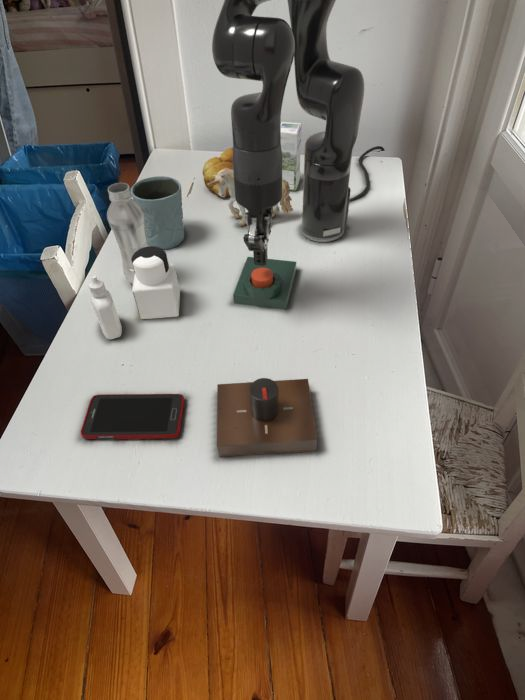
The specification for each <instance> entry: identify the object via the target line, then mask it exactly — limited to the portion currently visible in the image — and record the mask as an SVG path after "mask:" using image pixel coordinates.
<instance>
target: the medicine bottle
mask: <svg viewBox="0 0 525 700" xmlns="http://www.w3.org/2000/svg"><path fill="white" fill-rule="evenodd" d="M131 261H132V265H133V268H134V272H135V276H134V282H133V284H132V289H131V291H132V295H133V298H134V301H135V305H136V308H137V312H138V315H139V318H140V320H151V319H163V318H175V317H176V318H177V317H179V316H180V302H181V290H180V285H179V280H178V275H177V270H176V269H177V268H176V264H175V263H169V261H168V255H167V252H166V251H165V249H161V248H159V247H155V246H149V247H144V248H141V249H139V250H137V251H136V252H135V253H134V254H133V256H132V258H131Z"/></svg>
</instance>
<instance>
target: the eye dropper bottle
mask: <svg viewBox="0 0 525 700" xmlns="http://www.w3.org/2000/svg"><path fill="white" fill-rule="evenodd" d="M88 288H89V291H90V293H91V294H90V302H91V305H92V308H93V310H94V313H95V316H96V318H97V321H98V322H99V326H100V329H101V331H102V333H103V335H104V337H105V338H106V339H107V340H114V339H118V338H120V337H121V336H122V333H123V327H122V323H121V320H120V317H119V313H118V311H117V308H116V305H115V302H114V300H113V296H112V294H111V292H110V290H108V289H107V288H106V286H105V282H104V281H103V279H98V277H97V275H91V281H90V282H89V283H88Z"/></svg>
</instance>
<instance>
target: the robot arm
mask: <svg viewBox="0 0 525 700" xmlns="http://www.w3.org/2000/svg"><path fill="white" fill-rule="evenodd" d="M269 1H270V2H271V0H224V1H223V4H222V6H221V8H220V11H219V14H218V17H217V19H216V23H215V26H214V30H213V34H212V40H211V52H212V58H213V61H214V64H215V67H216V69H217V70H218V71H219V73H220V74H221V75H223V76H224V77H226V78H229V79H236V80H237V79H238V80H245V81H246V80H247V81H256V82H261V83H262V90H261V91H259V92H254V93H248V94H243V95H241V96H239V97H237V98H236V99H235V100H234V101H233V102H232V104H231V106H230V107H231V108H230V115H231V116H230V121H231V134H232V148H233V156H232V158H233V173H234V187H235V199H236V201H237V202H238V204H240V205H241V206H243V207H244V208H245V210H246V211H245V212H246V213H245V225H246V231H247V233H244V234H243V238H242V240H243V243H244V244H245V246H246V247H247V249H248V251H250V252H253V257H254V264H255V265H261V266H265V265H266V263H267V260H268V259H269V258H268V244H269V243H270V237H269V236H270V235H271V233H272V225H273V223H272V222H273V221H272V220H273V217H272V214H273V206H275V205H277V204H278V205H279V204H280V200H281V198H282V150H281V122H282V109H283V108H282V107H283V102H284V96H285V91H286V87H287V83H288V79H289V77H290V72H291V69H292V65H294V79H295V90H296V91H295V92H296V97H297V100H298V104H299V106H300V108H301V110H303V112H305V113H306V114H308V115H309V116H312V117H315V118H318V119H320V120H323V121H325V129H324V130H322V131H318V132H316V133H313V134H311V135H309V136H308V137H307V138H306V140H305V142H304V153H303V154H304V158H303V183H302V184H303V185H302V187H303V188H302V209H301V210H302V213H301V228H300V231H301V233H302V235H303V236H304V237H305V238H306V239H308V240H310V241H312V242H315V243H331V242H334V241H337V240H339V239H341V238H342V237H343V235H344V233H345V229H346V228H347V227H348V226H347V225H348V217H349V216H348V215H349V207H350V203H351V202H353V201H356V200H358V199H360V198H361V197H363V196H364V195H365V194H366V193H367V192H368V190H369V188H370V178H369V173H368V170H367V168H366V167H365V165H364V163H363V162H362V161H363V158H364V157H365V156H367V155H368V154H370V153H371V152H373V151H374V150H381V151H385V147H383V146H381V145H377V146H372V147H371V148H369V149H368V150H366V151H364V152H363V153H362V154H361V155H360V156H359V158H358V164H359V166H360V167H361V170H363V173H364V178H365V187H364V190H363V191H362V192H360V193H359V194H357V195H356V196H354V197H352V198H351V191H352V190H351V188H350V178H351V177H350V176H351V166H352V159H353V150H354V147H355V144H356V142H357V138H358V134H359V127H360V121H361V116H362V115H361V114H362V109H363V105H364V96H365V79H364V75H363V73H362V71H361V70H360V69H359V68H357V67H355V66H353V65H349V64H345V63H341V62H337V61H333V60H331V58H330V55H329V49H328V39H327V26H328V22H329V18H330V16H331V12H332V11H333V8H334V6H335V4H336V1H337V0H287V6H288V7H287V8H288V15H289V23H290V24H289V23H288V22H287V21H286V20H285V19H283V18H280V17H273V16H260V15H253V14H254V13H255V11H256V9H257V8H258V7H259V6H260V5H261V4H263V3H266V2H269ZM293 63H294V64H293ZM236 201H235V202H236ZM237 202H236V203H237ZM238 204H237V205H238Z"/></svg>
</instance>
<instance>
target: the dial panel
mask: <svg viewBox="0 0 525 700" xmlns="http://www.w3.org/2000/svg"><path fill="white" fill-rule="evenodd" d="M273 381H274V382H275V383H276V384H277V386H278V414H277V416H276V417H275V418H274V419H272V420H270V421H260V420H257V419H256V418H255V417H254V416H253V415H252V413H251V402H250V386H251V384H252V383H253V382H254V381H249V382H248V381H247V382H234V383H218V384H217V385H216V386H217V389H216V391H217V393H216V396H217V397H216V401H217V402H216V449H217V454H218V457H219V458H225V457H238V456H255V455H269V454H285V453H301V452H302V453H303V452H317V447H318V435H317V428H316V422H315V415H314V409H313V403H312V402H313V401H312V396H311V390H310V384H309V383H310V382H309V378H299V379H298V378H297V379H281V380H279V379H278V380H273Z"/></svg>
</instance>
